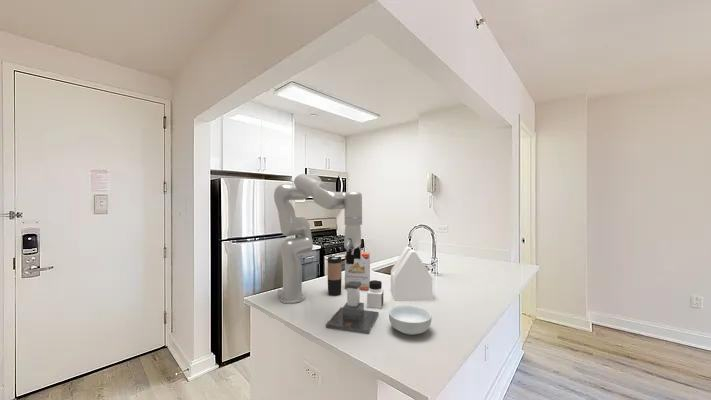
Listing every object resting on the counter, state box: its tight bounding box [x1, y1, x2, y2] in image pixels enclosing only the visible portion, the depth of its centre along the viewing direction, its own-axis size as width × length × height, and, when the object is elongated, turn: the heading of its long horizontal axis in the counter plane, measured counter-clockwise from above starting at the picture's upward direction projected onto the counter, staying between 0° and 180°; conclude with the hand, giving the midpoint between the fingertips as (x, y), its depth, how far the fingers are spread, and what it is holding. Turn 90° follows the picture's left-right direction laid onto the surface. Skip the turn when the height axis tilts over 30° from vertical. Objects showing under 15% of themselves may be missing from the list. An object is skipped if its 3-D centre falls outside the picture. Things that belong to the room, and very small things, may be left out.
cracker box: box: [344, 251, 371, 291], centre depth 163 cm, size 14×6×21 cm, turn 81°
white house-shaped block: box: [390, 246, 433, 302], centre depth 152 cm, size 19×15×25 cm
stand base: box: [325, 302, 380, 335], centre depth 120 cm, size 18×18×7 cm
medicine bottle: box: [366, 279, 384, 309], centre depth 138 cm, size 7×7×12 cm
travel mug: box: [327, 255, 343, 297], centre depth 154 cm, size 8×8×20 cm
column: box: [346, 281, 361, 308], centre depth 120 cm, size 5×5×14 cm
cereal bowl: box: [388, 304, 433, 336], centre depth 112 cm, size 17×17×7 cm
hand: (353, 261), depth 120 cm, fingers open, 9 cm apart
